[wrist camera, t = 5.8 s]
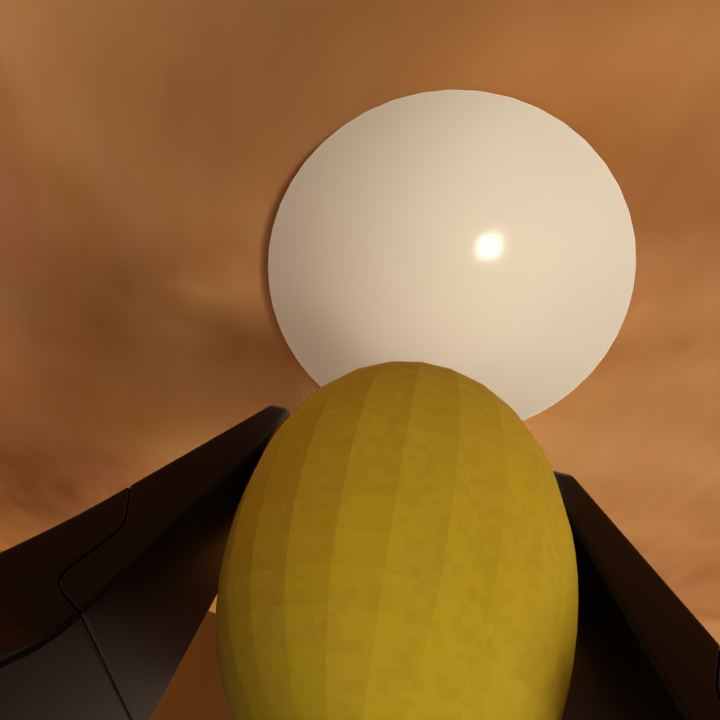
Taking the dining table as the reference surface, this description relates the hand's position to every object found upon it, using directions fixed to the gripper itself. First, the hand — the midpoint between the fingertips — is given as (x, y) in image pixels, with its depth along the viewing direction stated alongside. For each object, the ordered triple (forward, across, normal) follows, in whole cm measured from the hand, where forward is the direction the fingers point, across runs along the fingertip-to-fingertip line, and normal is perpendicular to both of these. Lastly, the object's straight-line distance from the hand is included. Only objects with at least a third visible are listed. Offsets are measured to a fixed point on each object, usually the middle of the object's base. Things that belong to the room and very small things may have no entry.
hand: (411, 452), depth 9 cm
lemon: (+2, 0, 0) cm, 2 cm away
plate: (+10, 0, 0) cm, 10 cm away
